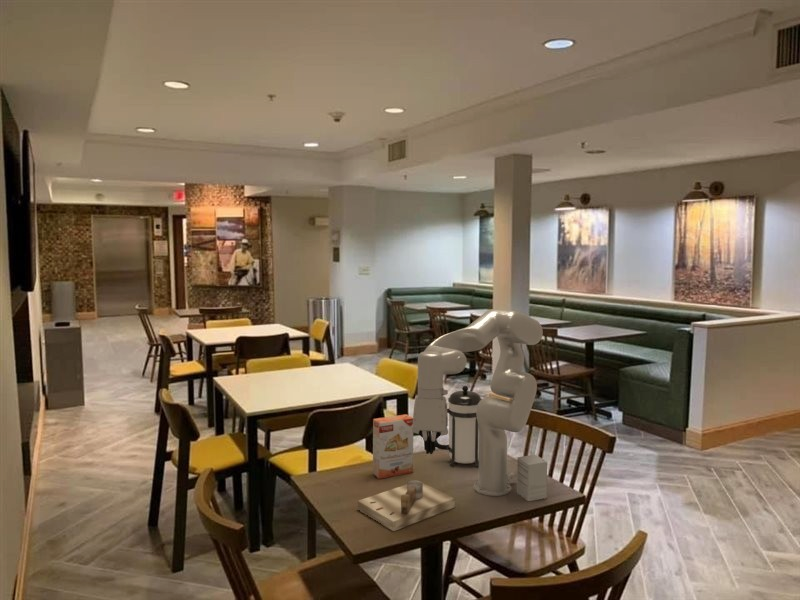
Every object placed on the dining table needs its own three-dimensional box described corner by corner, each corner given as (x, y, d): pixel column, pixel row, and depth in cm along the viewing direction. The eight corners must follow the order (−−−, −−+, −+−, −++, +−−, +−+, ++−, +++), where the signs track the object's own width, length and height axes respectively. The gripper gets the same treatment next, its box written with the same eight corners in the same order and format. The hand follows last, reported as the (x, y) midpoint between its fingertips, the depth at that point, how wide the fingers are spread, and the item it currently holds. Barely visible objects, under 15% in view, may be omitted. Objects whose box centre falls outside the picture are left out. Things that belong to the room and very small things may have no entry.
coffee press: (463, 451, 238) (464, 378, 235) (492, 463, 225) (493, 386, 222) (430, 461, 228) (430, 385, 225) (458, 474, 215) (458, 393, 212)
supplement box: (535, 489, 202) (535, 454, 200) (547, 498, 195) (548, 461, 193) (516, 492, 199) (516, 456, 198) (527, 501, 192) (528, 464, 191)
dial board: (417, 489, 202) (417, 480, 202) (454, 507, 188) (454, 497, 188) (357, 509, 186) (357, 500, 186) (393, 531, 172) (393, 520, 172)
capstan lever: (409, 491, 192) (409, 476, 192) (424, 493, 191) (424, 478, 190) (394, 515, 175) (394, 499, 175) (410, 517, 174) (410, 501, 174)
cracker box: (379, 480, 210) (379, 422, 208) (372, 474, 215) (372, 418, 213) (414, 473, 216) (414, 417, 214) (406, 467, 222) (406, 413, 219)
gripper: (457, 391, 178) (456, 450, 180) (408, 388, 182) (408, 446, 183) (453, 397, 171) (452, 459, 173) (402, 394, 174) (402, 454, 176)
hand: (429, 452), depth 178 cm, fingers closed
